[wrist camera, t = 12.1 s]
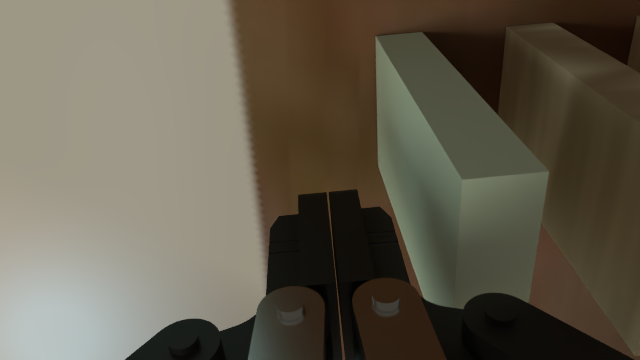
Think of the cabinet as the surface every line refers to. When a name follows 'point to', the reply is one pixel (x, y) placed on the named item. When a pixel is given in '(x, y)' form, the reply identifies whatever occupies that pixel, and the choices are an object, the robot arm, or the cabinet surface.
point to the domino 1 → (454, 177)
